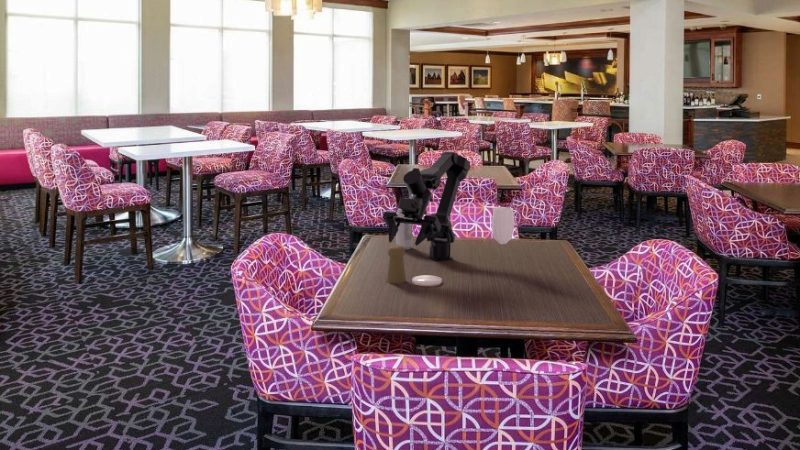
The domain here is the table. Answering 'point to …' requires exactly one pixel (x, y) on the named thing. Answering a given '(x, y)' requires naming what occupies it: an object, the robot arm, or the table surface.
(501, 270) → the table surface
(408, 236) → the energy drink can
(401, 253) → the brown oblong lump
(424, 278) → the coaster
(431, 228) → the robot arm
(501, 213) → the cup
